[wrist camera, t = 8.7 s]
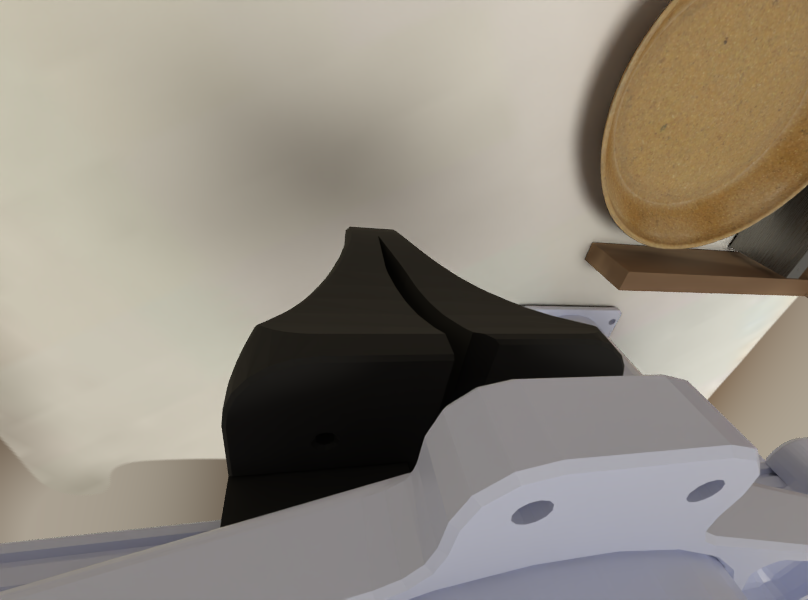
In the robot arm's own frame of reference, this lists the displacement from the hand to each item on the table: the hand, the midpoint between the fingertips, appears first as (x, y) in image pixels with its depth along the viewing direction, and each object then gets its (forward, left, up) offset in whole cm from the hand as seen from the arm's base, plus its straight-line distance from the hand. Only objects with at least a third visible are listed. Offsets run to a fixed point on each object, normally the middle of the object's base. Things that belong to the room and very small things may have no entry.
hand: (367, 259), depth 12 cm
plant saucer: (+5, -19, -10) cm, 22 cm away
